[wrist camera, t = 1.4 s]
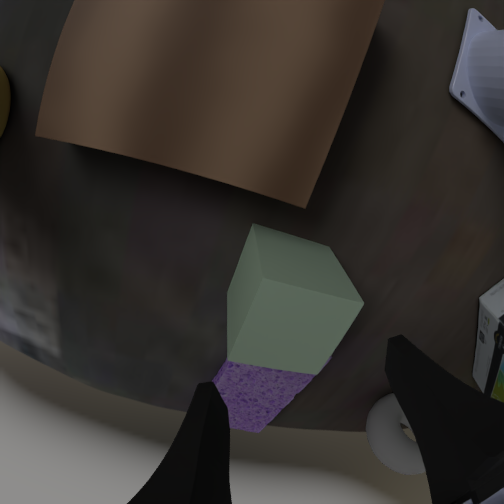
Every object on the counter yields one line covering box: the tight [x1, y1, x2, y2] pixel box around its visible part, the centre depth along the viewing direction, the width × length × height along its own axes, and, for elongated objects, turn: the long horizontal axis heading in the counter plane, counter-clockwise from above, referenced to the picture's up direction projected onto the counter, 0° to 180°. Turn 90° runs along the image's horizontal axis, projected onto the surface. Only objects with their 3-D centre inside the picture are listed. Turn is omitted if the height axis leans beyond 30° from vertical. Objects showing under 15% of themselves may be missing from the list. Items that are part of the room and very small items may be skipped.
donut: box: [366, 393, 425, 475], centre depth 23 cm, size 10×3×10 cm, turn 71°
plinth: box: [35, 0, 385, 209], centre depth 12 cm, size 14×12×3 cm
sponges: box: [212, 356, 332, 433], centre depth 24 cm, size 7×13×2 cm, turn 155°
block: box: [227, 223, 364, 375], centre depth 16 cm, size 5×5×6 cm
